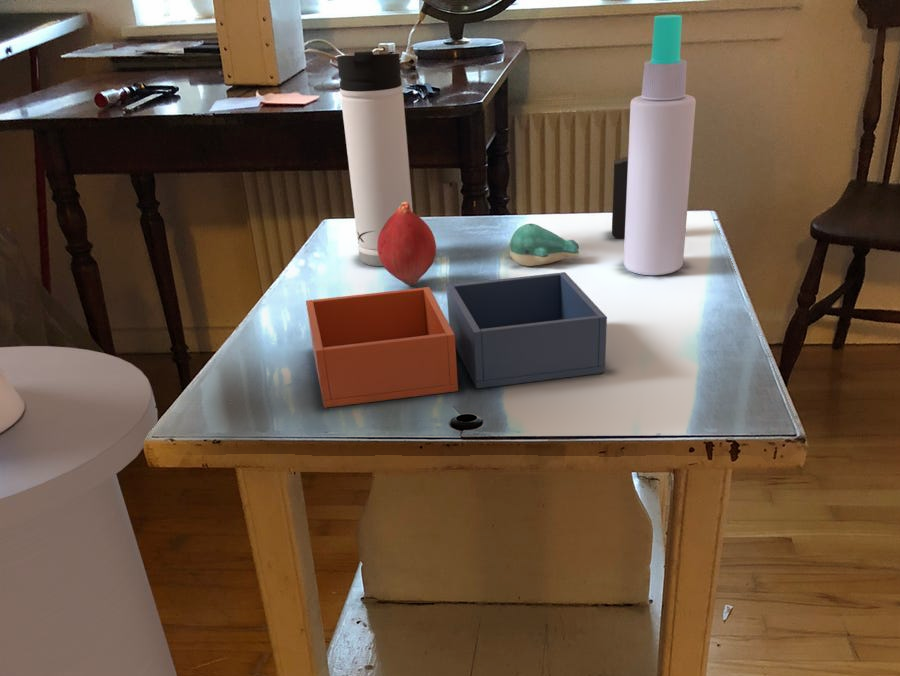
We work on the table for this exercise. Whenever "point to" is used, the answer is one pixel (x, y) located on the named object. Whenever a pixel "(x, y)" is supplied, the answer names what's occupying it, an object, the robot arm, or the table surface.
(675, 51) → the spray bottle
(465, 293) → the blue bin
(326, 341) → the terracotta bin
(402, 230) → the onion
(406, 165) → the travel mug
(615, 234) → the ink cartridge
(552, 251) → the whale figurine
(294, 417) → the table surface
